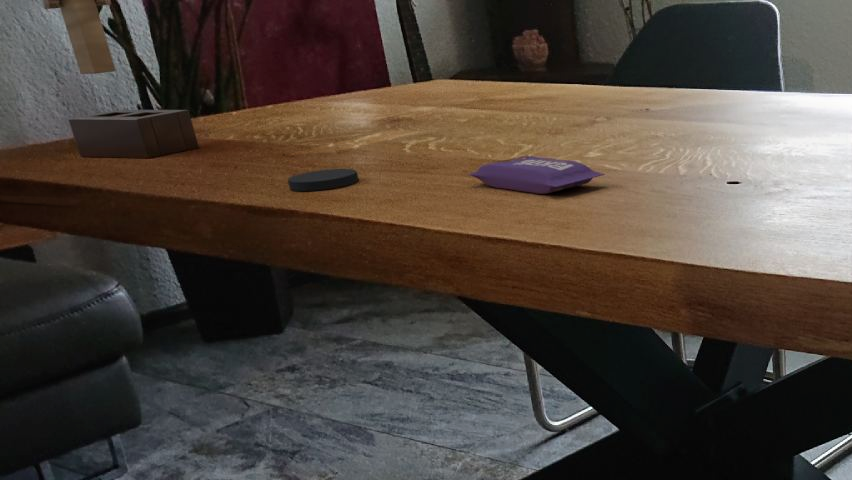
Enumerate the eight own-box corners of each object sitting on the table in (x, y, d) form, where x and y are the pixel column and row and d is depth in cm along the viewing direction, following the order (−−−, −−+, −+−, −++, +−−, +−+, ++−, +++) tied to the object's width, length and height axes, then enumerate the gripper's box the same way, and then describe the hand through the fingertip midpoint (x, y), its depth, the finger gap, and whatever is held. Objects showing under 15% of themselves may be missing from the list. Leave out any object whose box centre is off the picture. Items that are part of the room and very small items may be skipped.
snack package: (604, 161, 85) (554, 174, 82) (608, 186, 86) (558, 200, 83) (513, 151, 92) (463, 162, 89) (517, 174, 93) (468, 186, 90)
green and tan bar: (91, 74, 115) (48, -65, 109) (76, 74, 115) (33, -64, 110) (119, 70, 117) (79, -66, 112) (104, 70, 118) (63, -64, 113)
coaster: (287, 194, 91) (285, 184, 91) (292, 182, 96) (290, 173, 96) (358, 186, 93) (356, 176, 92) (359, 175, 98) (357, 166, 97)
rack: (148, 158, 114) (137, 119, 113) (80, 156, 119) (67, 118, 117) (199, 147, 119) (188, 109, 118) (131, 146, 124) (120, 109, 122)
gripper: (-92, -122, 108) (-51, -15, 105) (139, -124, 119) (182, -27, 116) (-76, -70, 113) (-36, 33, 110) (145, -76, 124) (186, 17, 121)
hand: (78, 2), depth 113 cm, fingers closed on green and tan bar, 3 cm apart
